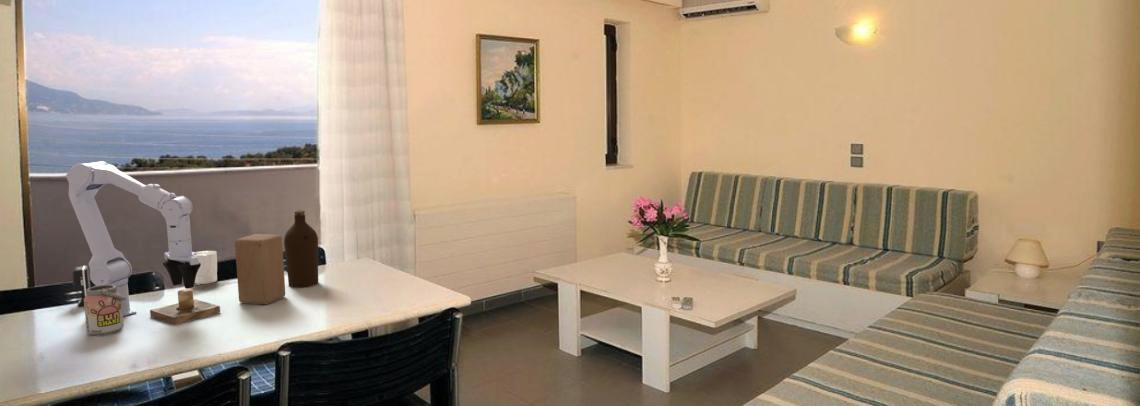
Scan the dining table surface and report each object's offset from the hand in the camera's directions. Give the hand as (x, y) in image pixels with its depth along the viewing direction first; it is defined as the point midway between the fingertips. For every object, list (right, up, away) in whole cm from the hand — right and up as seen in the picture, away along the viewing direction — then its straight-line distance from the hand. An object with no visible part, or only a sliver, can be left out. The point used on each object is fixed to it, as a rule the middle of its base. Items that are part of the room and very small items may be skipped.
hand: (183, 286), depth 196 cm
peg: (0, -8, +1) cm, 8 cm away
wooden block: (+16, -6, +16) cm, 23 cm away
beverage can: (-13, -11, -13) cm, 21 cm away
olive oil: (+21, -4, +35) cm, 41 cm away
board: (0, -8, +1) cm, 8 cm away
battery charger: (-37, -7, +12) cm, 40 cm away
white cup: (-14, -3, +38) cm, 41 cm away
